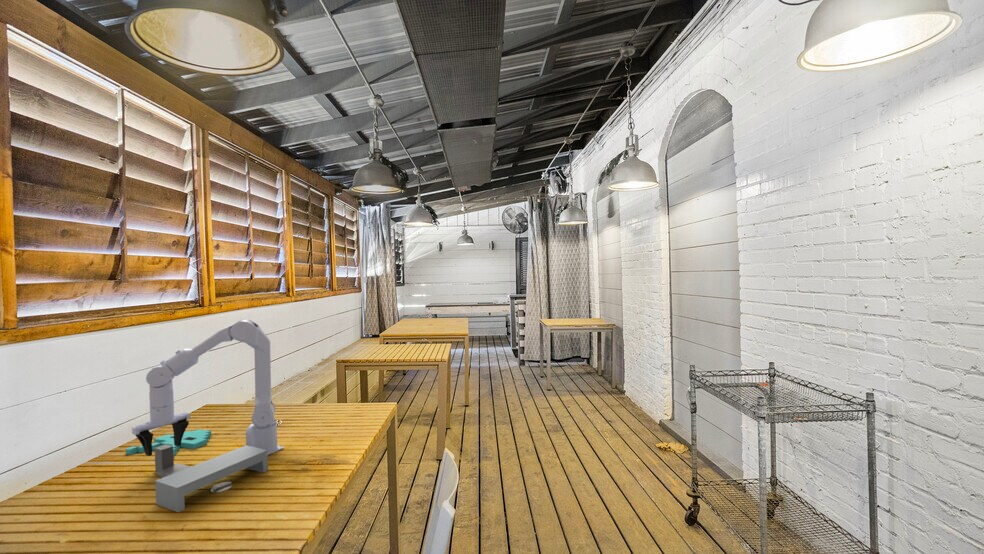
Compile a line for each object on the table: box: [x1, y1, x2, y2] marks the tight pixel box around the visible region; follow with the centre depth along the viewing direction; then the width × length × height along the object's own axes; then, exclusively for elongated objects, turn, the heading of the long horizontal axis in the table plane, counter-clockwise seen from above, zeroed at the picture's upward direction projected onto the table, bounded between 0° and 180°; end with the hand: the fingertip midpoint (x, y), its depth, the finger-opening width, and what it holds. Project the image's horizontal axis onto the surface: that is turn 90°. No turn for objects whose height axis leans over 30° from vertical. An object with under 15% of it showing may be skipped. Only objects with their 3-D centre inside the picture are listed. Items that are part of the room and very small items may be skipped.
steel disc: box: [210, 481, 233, 494], centre depth 115 cm, size 5×5×1 cm
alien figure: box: [125, 429, 212, 459], centre depth 148 cm, size 20×2×20 cm
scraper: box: [154, 444, 191, 478], centre depth 124 cm, size 21×6×7 cm, turn 63°
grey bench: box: [154, 444, 269, 513], centre depth 117 cm, size 10×24×6 cm, turn 153°
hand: (163, 450), depth 128 cm, fingers open, 7 cm apart
